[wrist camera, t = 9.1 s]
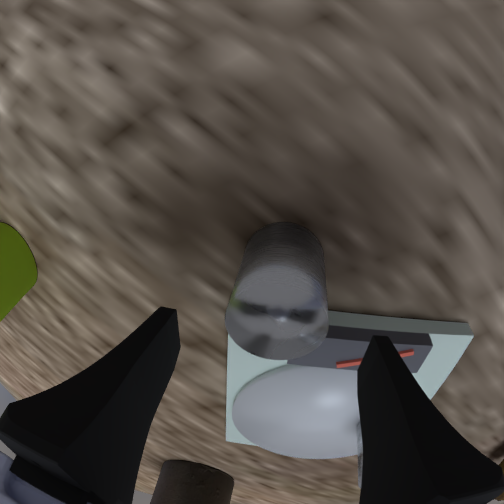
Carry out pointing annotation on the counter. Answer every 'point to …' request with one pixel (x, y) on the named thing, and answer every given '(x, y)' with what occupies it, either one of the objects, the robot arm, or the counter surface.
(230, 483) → the pillar candle
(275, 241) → the cylinder
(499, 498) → the potato
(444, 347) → the scale
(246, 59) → the counter surface
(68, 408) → the robot arm
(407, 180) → the counter surface
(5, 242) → the soap dispenser
